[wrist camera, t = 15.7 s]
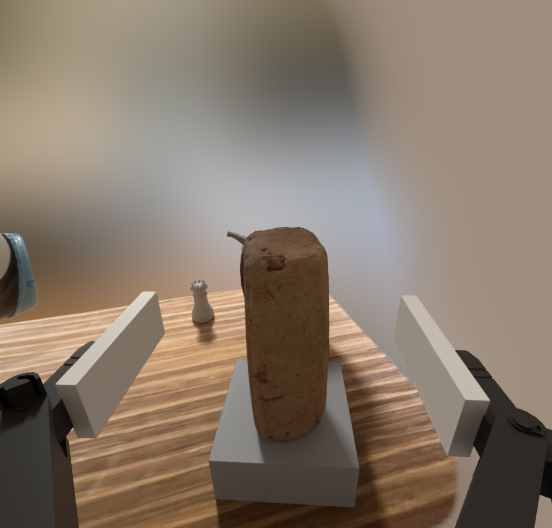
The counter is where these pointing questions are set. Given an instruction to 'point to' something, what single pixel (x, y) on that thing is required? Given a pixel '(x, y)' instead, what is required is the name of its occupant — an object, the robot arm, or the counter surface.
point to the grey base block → (285, 452)
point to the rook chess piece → (201, 303)
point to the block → (286, 330)
